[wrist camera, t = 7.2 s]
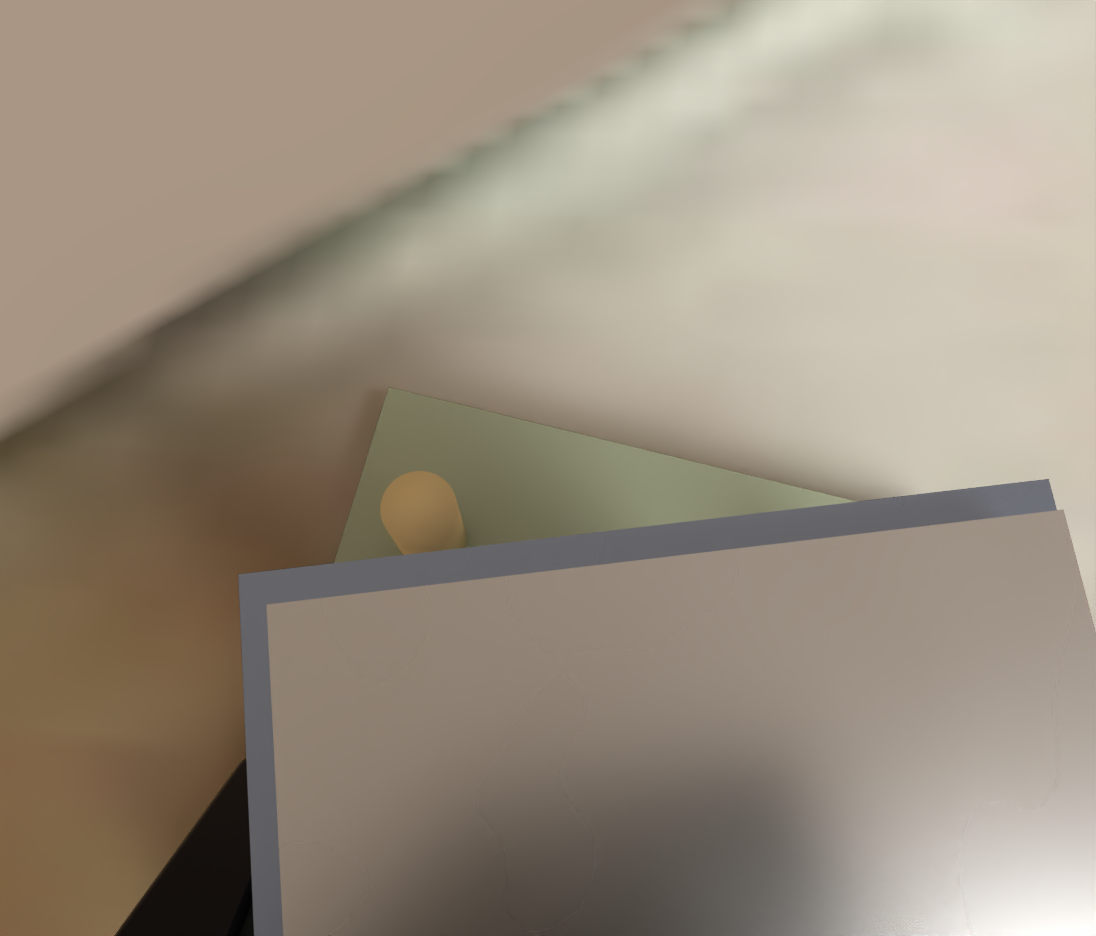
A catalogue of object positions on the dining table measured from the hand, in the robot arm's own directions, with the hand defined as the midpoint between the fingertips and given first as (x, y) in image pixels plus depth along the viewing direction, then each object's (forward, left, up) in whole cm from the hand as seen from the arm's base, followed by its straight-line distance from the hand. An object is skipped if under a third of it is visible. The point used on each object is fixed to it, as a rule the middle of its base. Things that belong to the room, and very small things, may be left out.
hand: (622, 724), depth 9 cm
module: (-1, 0, -8) cm, 9 cm away
